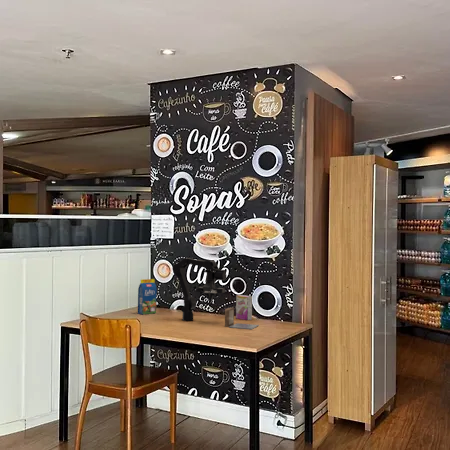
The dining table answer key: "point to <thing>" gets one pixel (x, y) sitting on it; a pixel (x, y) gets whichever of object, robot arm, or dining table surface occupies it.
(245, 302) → the candy bar box
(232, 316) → the walnut tile
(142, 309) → the blue food package
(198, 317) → the dining table surface
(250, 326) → the slate board
